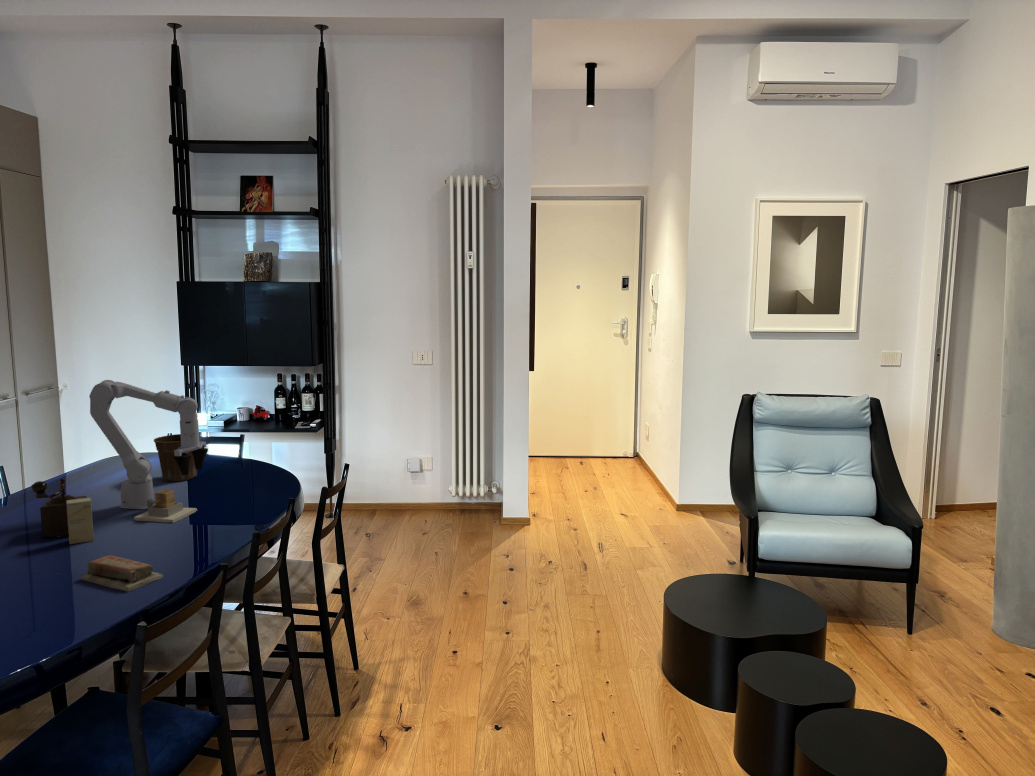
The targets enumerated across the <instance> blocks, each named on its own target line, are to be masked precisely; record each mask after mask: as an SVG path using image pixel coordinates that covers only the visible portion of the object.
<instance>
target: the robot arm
mask: <svg viewBox="0 0 1035 776" xmlns="http://www.w3.org/2000/svg"><path fill="white" fill-rule="evenodd" d="M124 397H129V398H134V399H137V400H140V401H141V400H142V401H147V402H150V403H153V405H154V406H155V407H156V408H158V409H162V410H165V411H168V412H172V413H178V415H179V430H180V431H179V434H181V447H179V448H178V449H177V450H174V454H175V455H173V458H174V459H175V461H176V462H177V464H178V466H179V468H180V471H181V473H182V475H188V474H189V462H190V458H191V455H187V454H186V453H188V452H192V455H193V458H194V463H195V468H196V469H197V470H200V471H201V470H203V467H204V462H205V459H206V456H207V454H208V452H209V447H208V448H207V442H206V441H200V437H199V435H200V432H199V431H200V429H199V419H198V414H197V413H198V412H197V411H198V406H199V405H198V402H197V400H196V399H194V398H192V397H190V396H185V395H183V394H181V395H178V394H174V393H170V390H167V389H166V390H165V391H163V390H161V391H158V392H154V391H150V390H147V389H145V388H144V389H143V388H141V387H137V386H135V385H132V384H129V383H125V382H122V381H114V380H112V379H104V380H102V381H100V382H99V383H97V384H95V385H94V386H93V387H92V388H91V390H90V393H89V402H90V403H89V404H90V405H89V414H90V417H91V418H92V419H93V420H94V422H95V423H96V425H97V426H98V428H99V429H100V430H101V432H102V433H103V435H104V437H106V439H107V441H108V442H109V443H110V444H111V446H112V447H113V449H114V450H115V452H116V453H117V454H118V456H119V457H120V459H121V460H122V465H123V468H124V469H125V471H126V477H127V478H128V479H126V480H124V481H123V482H122V483H121V485H120V490H119V491H120V500H121V501H120V502H121V505H120V507H119V508H120V509H129V510H148V506H147V500H149V499H153V501H155V495H154V485H153V477H152V476H151V475H150V473H151V471H152V469H153V465H152V462H151V461H150V460H149V459H147V458H146V457H144V456H143V455H142V453H140V452H139V451H137V449H136V447H134V445H133V443H132V441H130V440H129V438H128V436H127V435H126V434H125V432H124V431H123V429H122V428H121V426H120V425H119V423H117V421H116V420H115V418H114V417H113V414H112V413H111V412H110V409H111V406H112V403H113V401H114V400H115V399H121V398H124ZM154 505H156V503H155V504H153V506H154Z"/></svg>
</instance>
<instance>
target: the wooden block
mask: <svg viewBox="0 0 1035 776" xmlns="http://www.w3.org/2000/svg"><path fill="white" fill-rule="evenodd" d="M154 501H155V503H156V508H169V507H171V506H174V505H175V502H176V499H175V490H174V489H173V490H171V489H162V490H160V491H157V492H155V493H154Z"/></svg>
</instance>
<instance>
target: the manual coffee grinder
mask: <svg viewBox="0 0 1035 776" xmlns="http://www.w3.org/2000/svg"><path fill="white" fill-rule="evenodd" d="M59 482H60V483H59V488H58V490H57V492H55V493H52V494H47V493H46V490H47V488H48V484H47V483H46V482H45V481H41V480H39V481H36V482H34V483H33V484H31V486H30V487H31V490H32V492H34V493H35V496H34V497H35V498H36V499H43V498H44V499H47V500H45V501H44V504H43V505H42V506H41V507H40V508H39V510H40V511H39V512H40V521H41V531H42V532H41V533H42V538H43V537H53V538H58V537H57V536H64V537H69V536H68V535H69V533H68V519H67V503H66V501H67V500H74V499H82V498H88V497H87V495H82V496H81V495H80V496H79V495H78V496H74V495H70V494H66V490H65V486H66V479H65V478H64V477H61V478H60V479H59Z"/></svg>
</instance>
